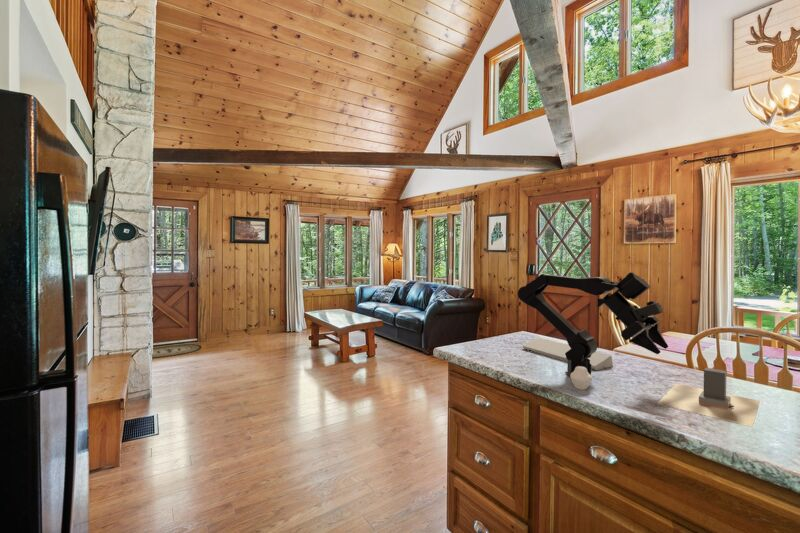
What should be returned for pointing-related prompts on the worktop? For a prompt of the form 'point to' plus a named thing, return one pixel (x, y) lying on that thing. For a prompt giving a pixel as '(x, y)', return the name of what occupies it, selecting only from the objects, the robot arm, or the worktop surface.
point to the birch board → (689, 401)
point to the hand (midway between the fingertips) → (663, 350)
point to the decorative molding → (560, 349)
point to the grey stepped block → (715, 389)
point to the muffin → (581, 378)
